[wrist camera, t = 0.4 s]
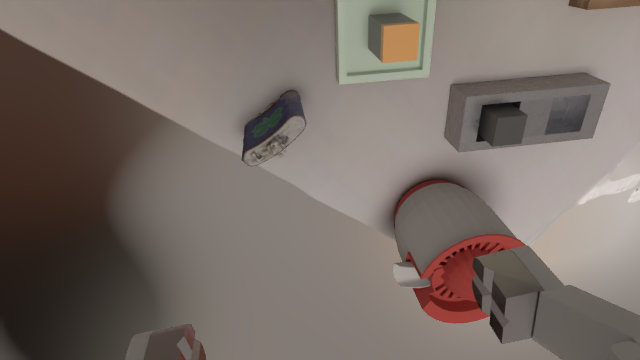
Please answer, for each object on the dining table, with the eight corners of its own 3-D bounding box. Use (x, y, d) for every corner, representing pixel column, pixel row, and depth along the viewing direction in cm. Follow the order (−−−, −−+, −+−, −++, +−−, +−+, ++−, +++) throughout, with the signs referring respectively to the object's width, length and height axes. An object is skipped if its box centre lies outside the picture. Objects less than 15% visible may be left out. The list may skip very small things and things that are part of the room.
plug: (368, 15, 50) (383, 26, 44) (400, 12, 50) (419, 23, 45) (367, 48, 52) (382, 63, 46) (398, 45, 53) (416, 60, 47)
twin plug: (472, 99, 57) (497, 118, 51) (499, 96, 58) (528, 115, 52) (468, 125, 60) (492, 146, 54) (494, 122, 60) (521, 143, 54)
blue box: (292, 85, 54) (299, 117, 45) (305, 102, 55) (315, 135, 46) (239, 127, 56) (236, 166, 47) (253, 142, 57) (253, 182, 48)
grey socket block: (450, 84, 57) (466, 96, 53) (584, 72, 59) (610, 83, 55) (444, 137, 61) (458, 152, 57) (569, 124, 63) (592, 138, 59)
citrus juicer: (367, 181, 63) (408, 272, 46) (475, 157, 64) (556, 238, 47) (377, 256, 72) (415, 356, 55) (473, 234, 72) (541, 327, 55)
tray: (334, -20, 48) (337, -19, 47) (433, -26, 49) (438, -25, 48) (336, 80, 54) (339, 84, 53) (424, 72, 56) (429, 76, 54)
